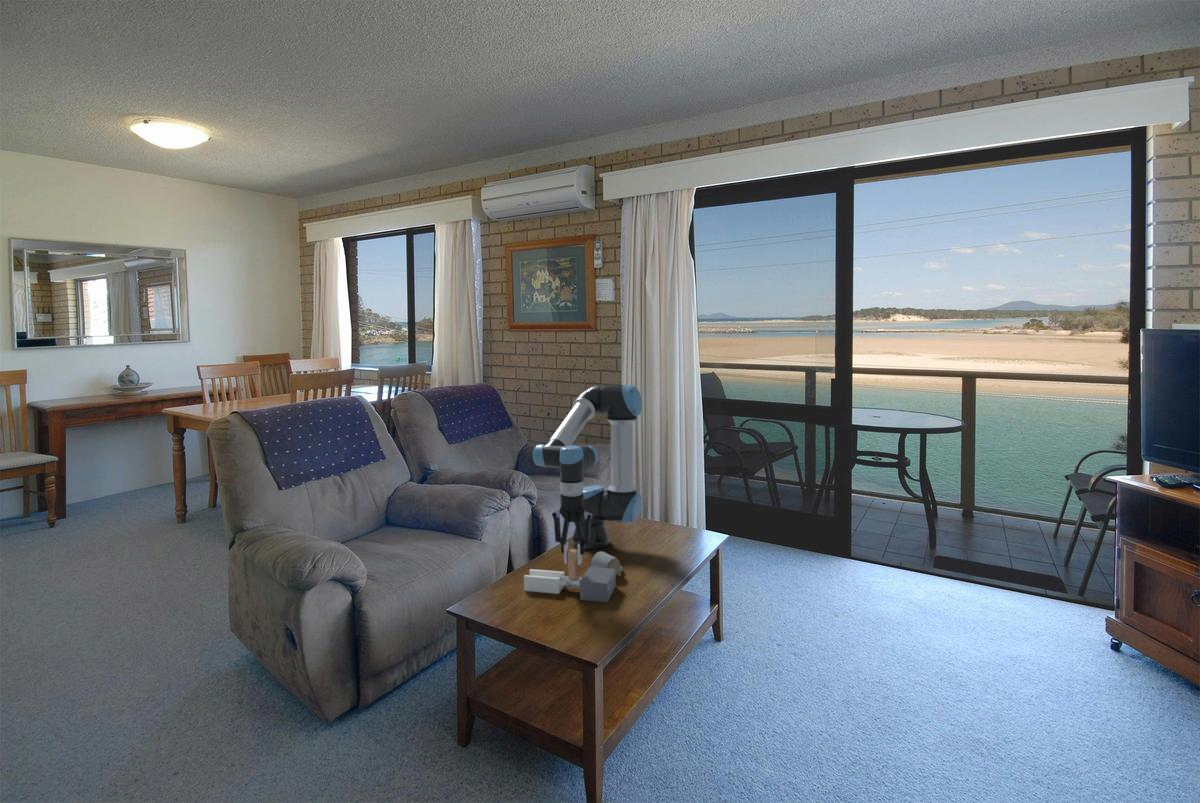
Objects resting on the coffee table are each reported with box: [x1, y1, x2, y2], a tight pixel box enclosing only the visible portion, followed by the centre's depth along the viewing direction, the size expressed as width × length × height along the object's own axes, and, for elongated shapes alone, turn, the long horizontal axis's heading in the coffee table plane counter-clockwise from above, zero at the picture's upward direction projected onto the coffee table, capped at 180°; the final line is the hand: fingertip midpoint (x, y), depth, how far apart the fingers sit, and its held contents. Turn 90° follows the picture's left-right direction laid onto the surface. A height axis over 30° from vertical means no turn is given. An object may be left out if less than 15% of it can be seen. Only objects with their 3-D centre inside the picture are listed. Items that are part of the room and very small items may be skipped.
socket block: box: [579, 566, 617, 603], centre depth 201 cm, size 12×9×6 cm
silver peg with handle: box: [558, 548, 582, 589], centre depth 201 cm, size 3×16×12 cm, turn 76°
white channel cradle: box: [523, 568, 565, 595], centre depth 205 cm, size 6×12×5 cm, turn 76°
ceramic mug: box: [590, 551, 623, 576], centre depth 217 cm, size 11×8×8 cm
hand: (573, 562), depth 202 cm, fingers open, 4 cm apart
